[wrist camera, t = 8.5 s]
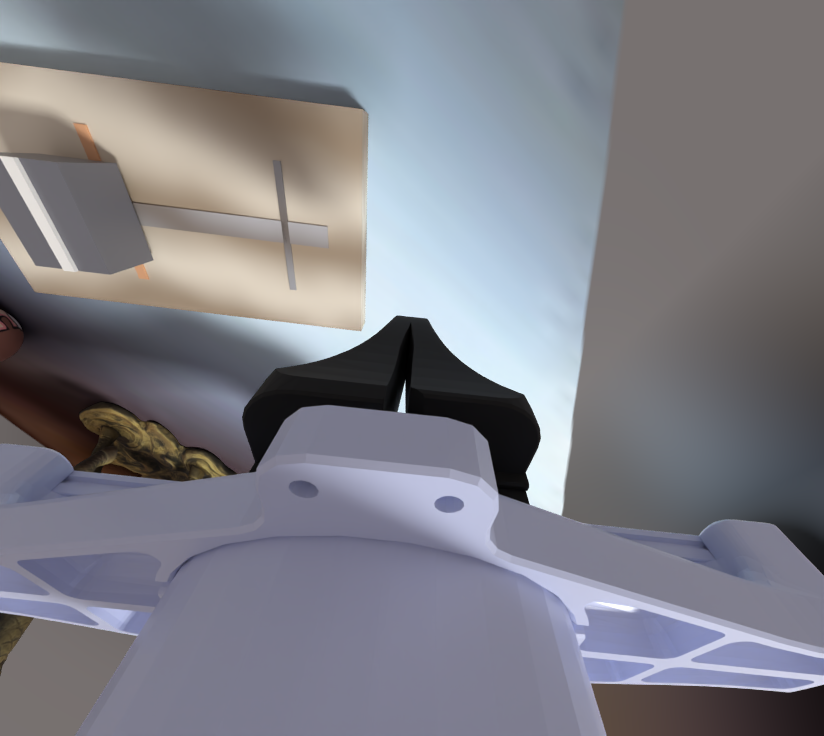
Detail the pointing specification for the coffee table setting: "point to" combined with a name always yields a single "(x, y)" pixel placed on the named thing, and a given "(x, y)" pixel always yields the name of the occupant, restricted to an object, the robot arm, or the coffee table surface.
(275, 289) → the fader console
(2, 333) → the figurine character
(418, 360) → the robot arm
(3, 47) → the coffee table surface
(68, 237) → the fader tab
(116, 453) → the figurine
